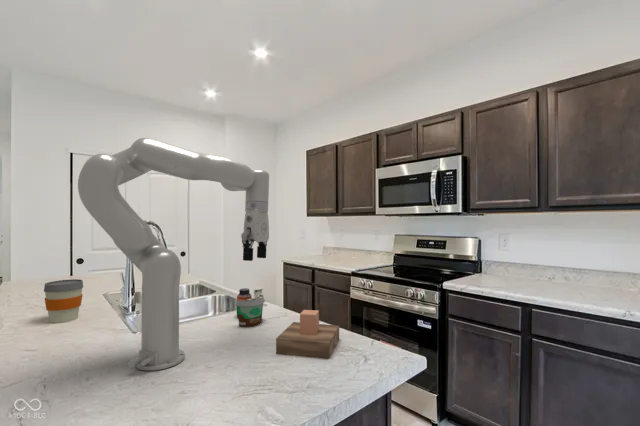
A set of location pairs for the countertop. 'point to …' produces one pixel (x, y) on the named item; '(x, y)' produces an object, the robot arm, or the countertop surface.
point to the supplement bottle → (243, 295)
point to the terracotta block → (309, 322)
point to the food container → (250, 311)
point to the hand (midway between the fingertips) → (254, 259)
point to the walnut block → (308, 341)
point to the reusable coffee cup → (63, 300)
